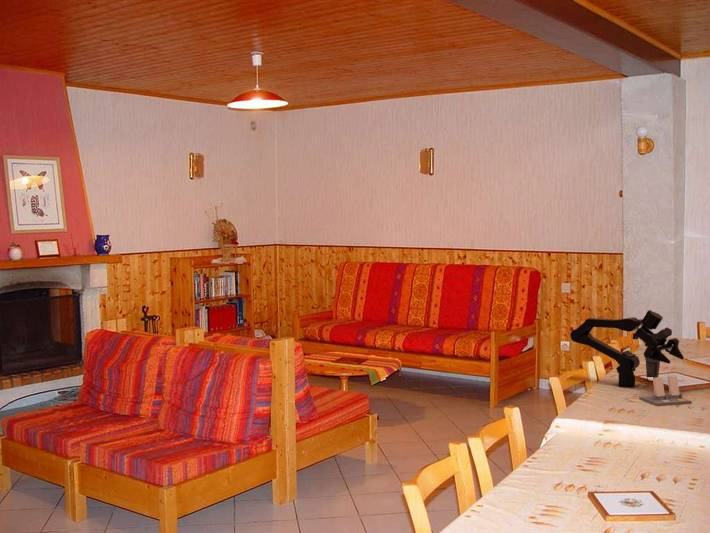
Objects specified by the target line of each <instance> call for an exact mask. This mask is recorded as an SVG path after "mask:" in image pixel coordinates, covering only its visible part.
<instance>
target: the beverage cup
mask: <svg viewBox="0 0 710 533" xmlns="http://www.w3.org/2000/svg"><path fill="white" fill-rule="evenodd" d="M644 359H645V370H646V378H647V377H653V378H657V377H659V374H660V373H659V372H660V364H661V361H657V360H653V359H650V358H649V359H647V358H646V357H644Z"/></svg>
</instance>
